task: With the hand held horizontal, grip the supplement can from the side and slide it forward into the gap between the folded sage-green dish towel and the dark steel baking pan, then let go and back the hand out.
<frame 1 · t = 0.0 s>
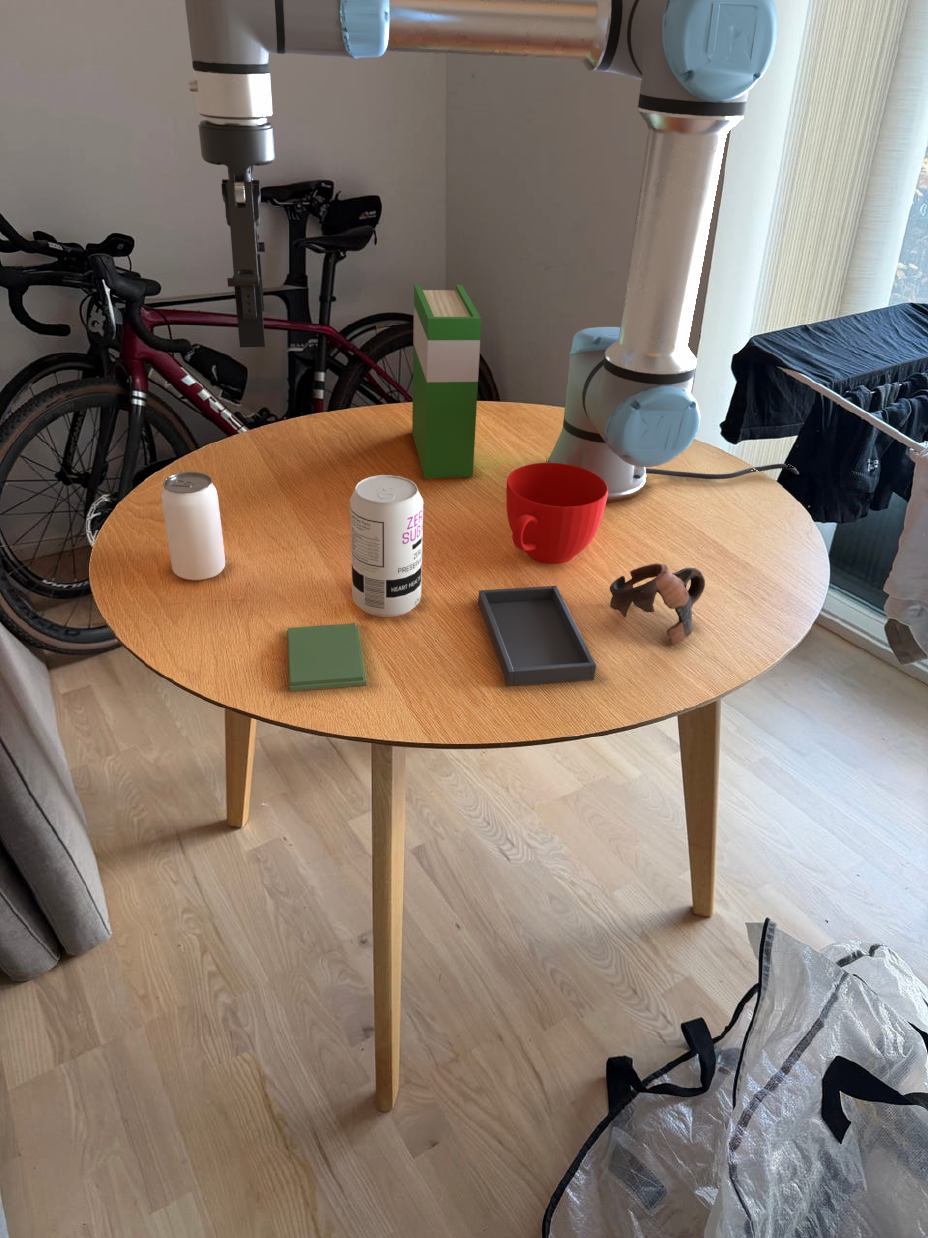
hand: (252, 327, 106), 28 cm above the table, tool pointing down, fingers open, 13 cm apart
ceramic cup: (542, 559, 121), on the table
pan: (532, 639, 105), on the table
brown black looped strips: (657, 622, 110), on the table
supplement can: (386, 602, 111), on the table
can: (199, 570, 115), on the table
hardback book: (441, 454, 147), on the table
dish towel: (325, 659, 101), on the table
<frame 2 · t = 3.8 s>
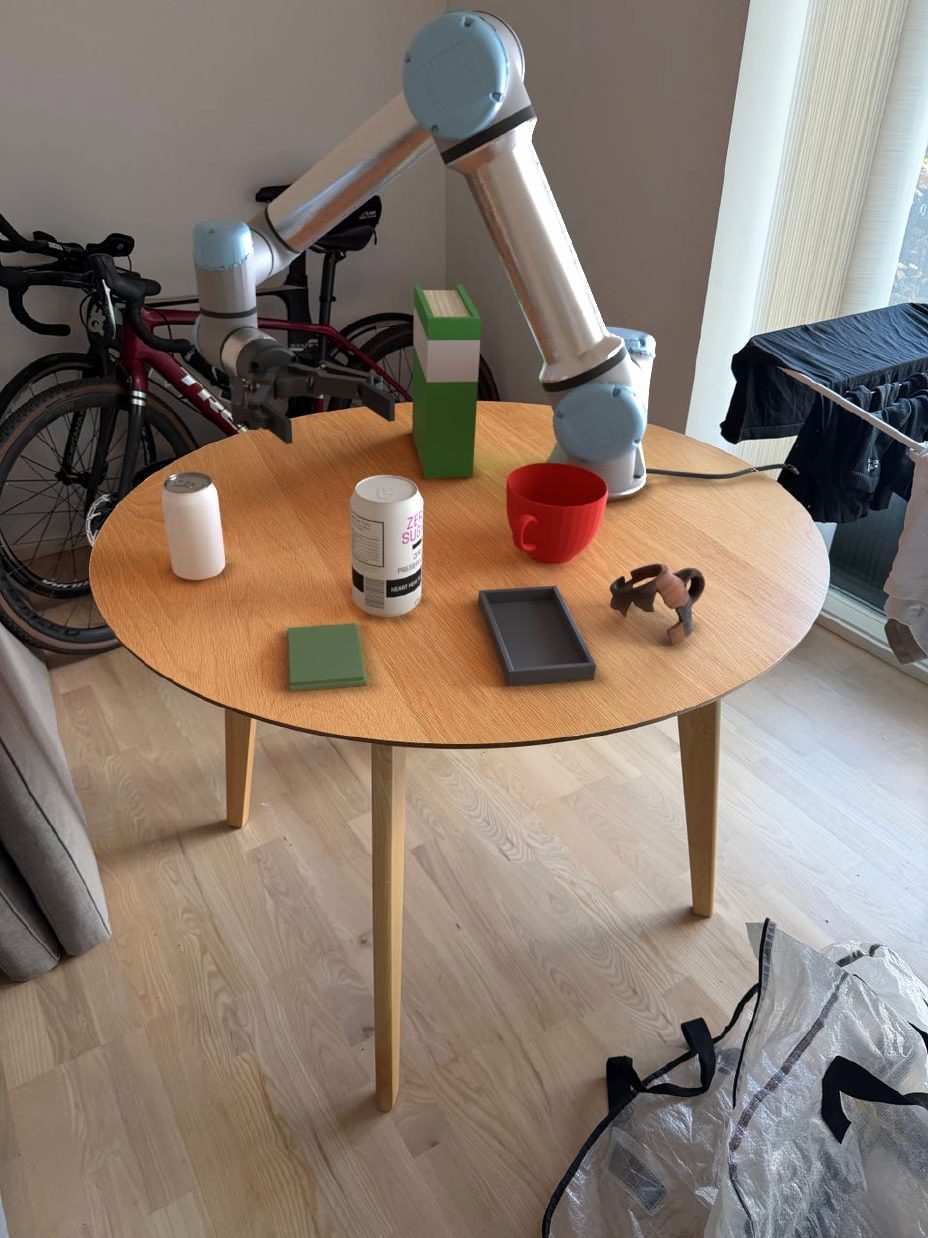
hand: (342, 421, 106), 19 cm above the table, tool horizontal, fingers open, 13 cm apart
nothing on the table moved.
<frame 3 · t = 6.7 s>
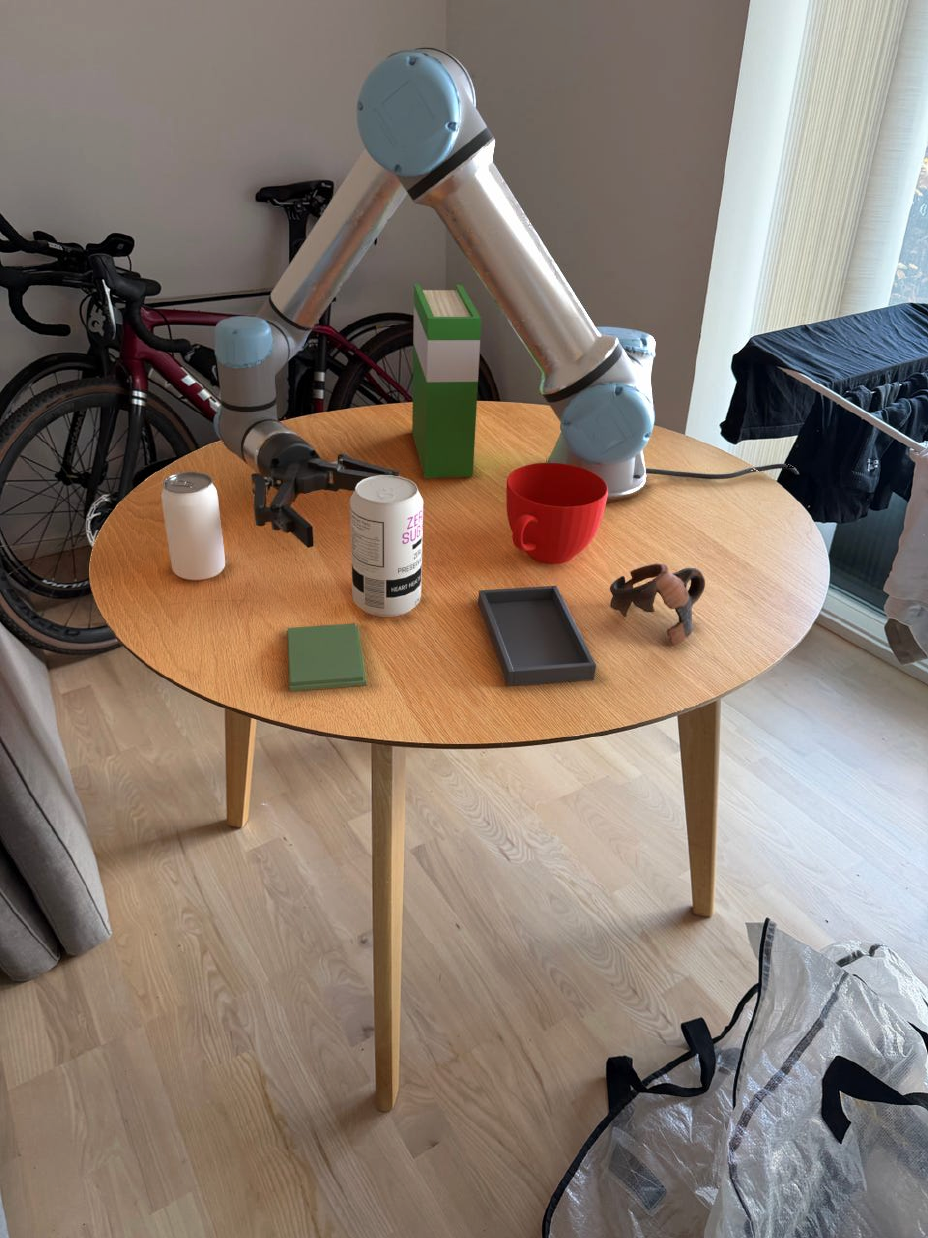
hand: (361, 523, 110), 8 cm above the table, tool horizontal, fingers open, 13 cm apart
nothing on the table moved.
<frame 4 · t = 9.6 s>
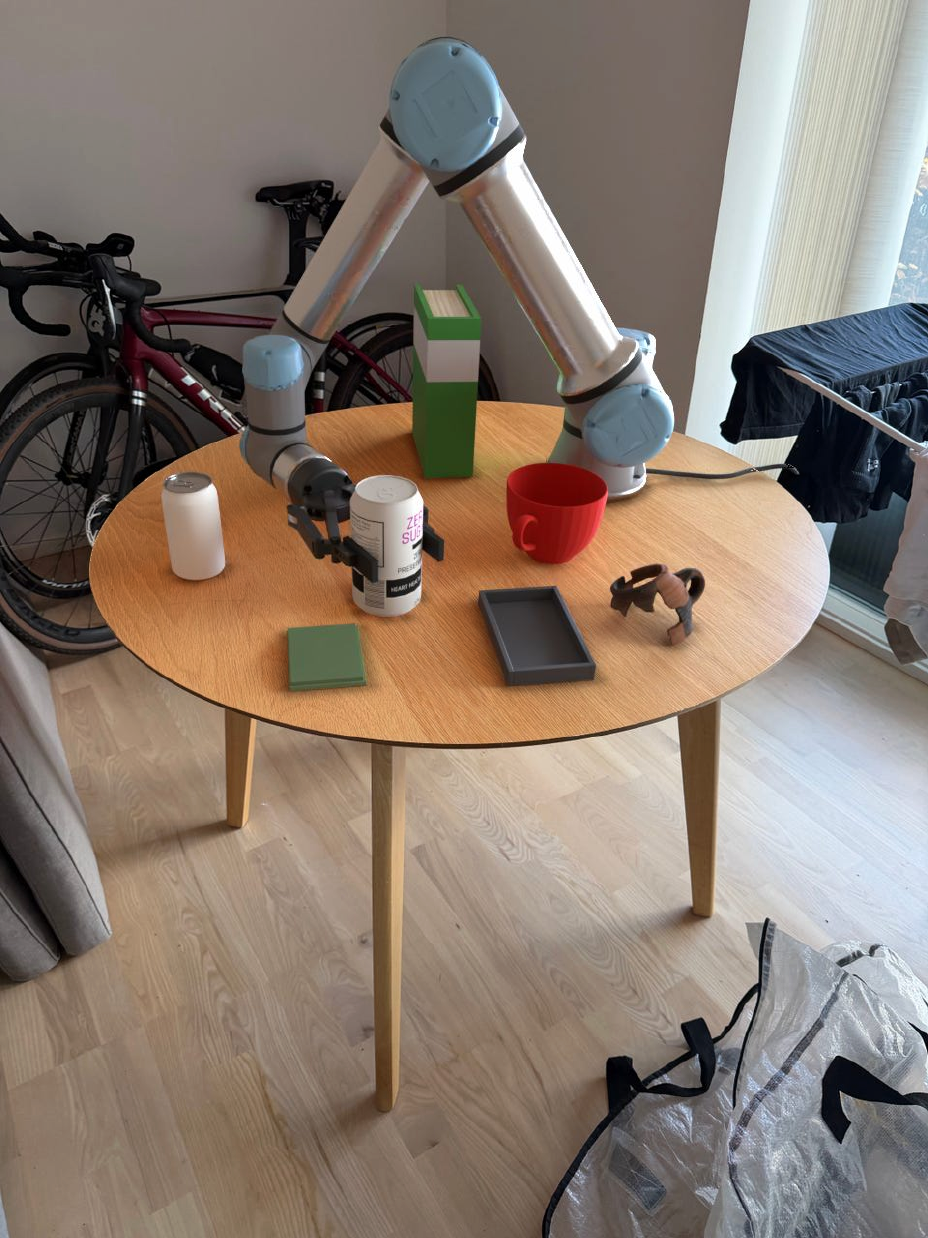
hand: (408, 561, 103), 8 cm above the table, tool horizontal, fingers closed on supplement can, 8 cm apart
supplement can: (386, 602, 111), on the table, touching gripper
everything else where it was.
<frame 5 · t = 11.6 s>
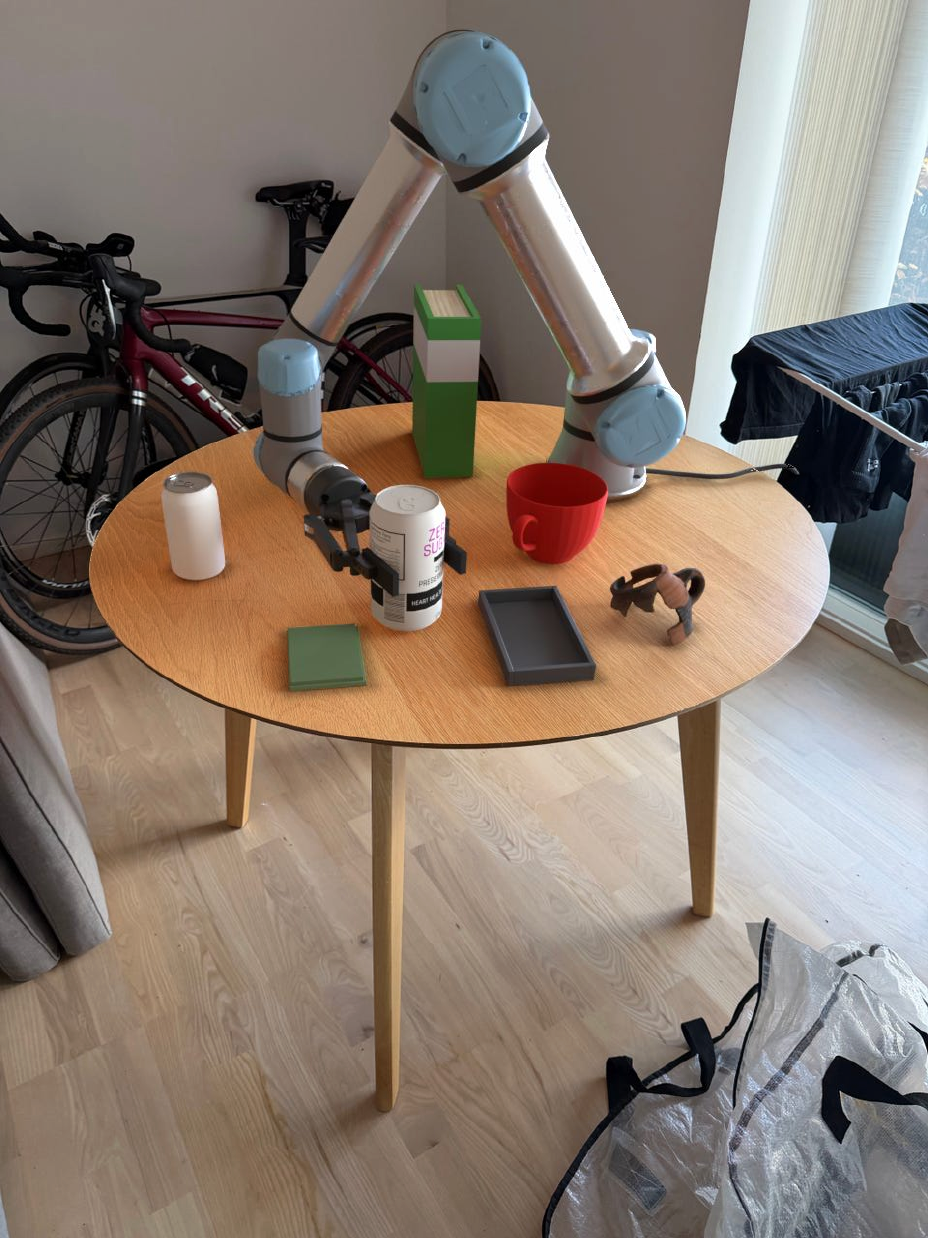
hand: (430, 574, 100), 9 cm above the table, tool horizontal, fingers closed on supplement can, 8 cm apart
supplement can: (406, 615, 107), point 1 cm above the table, touching gripper
everything else where it was.
when the fingers open (8 cm above the table, at t = 13.9 s): supplement can stays where it is, on the table.
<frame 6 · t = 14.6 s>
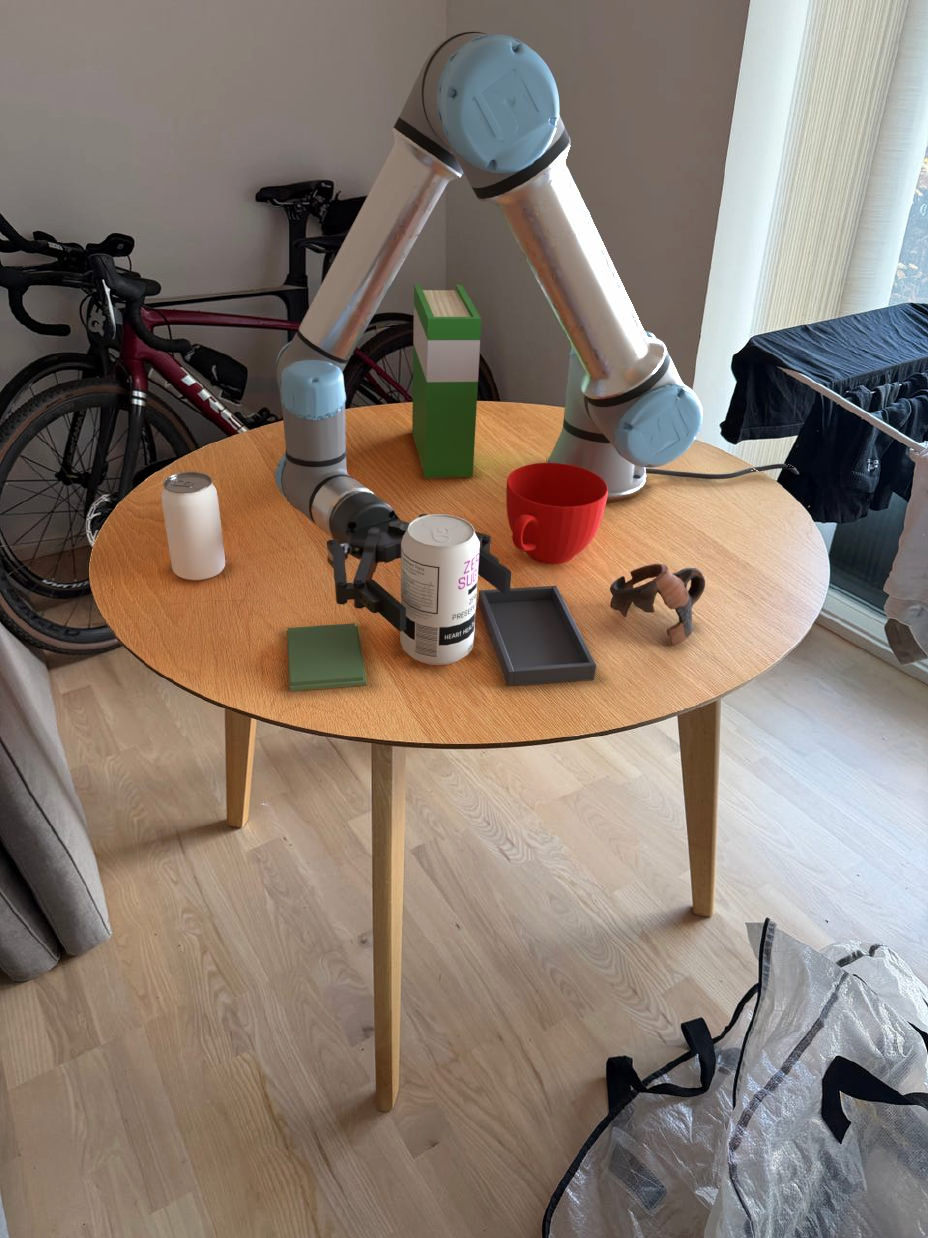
hand: (457, 601, 97), 8 cm above the table, tool horizontal, fingers open, 13 cm apart
supplement can: (436, 648, 103), on the table
everything else where it was.
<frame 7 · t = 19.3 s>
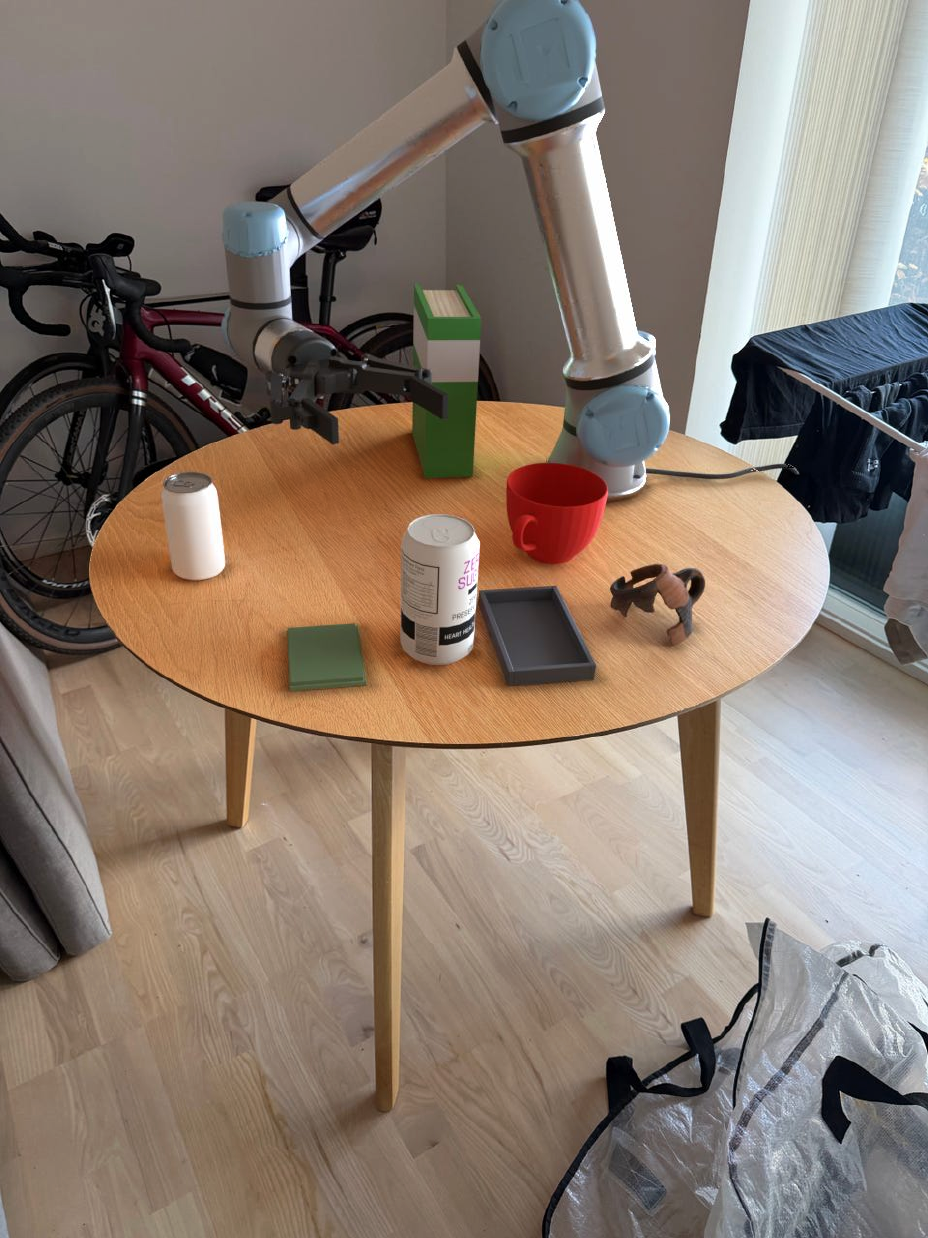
hand: (392, 418, 96), 24 cm above the table, tool horizontal, fingers open, 13 cm apart
nothing on the table moved.
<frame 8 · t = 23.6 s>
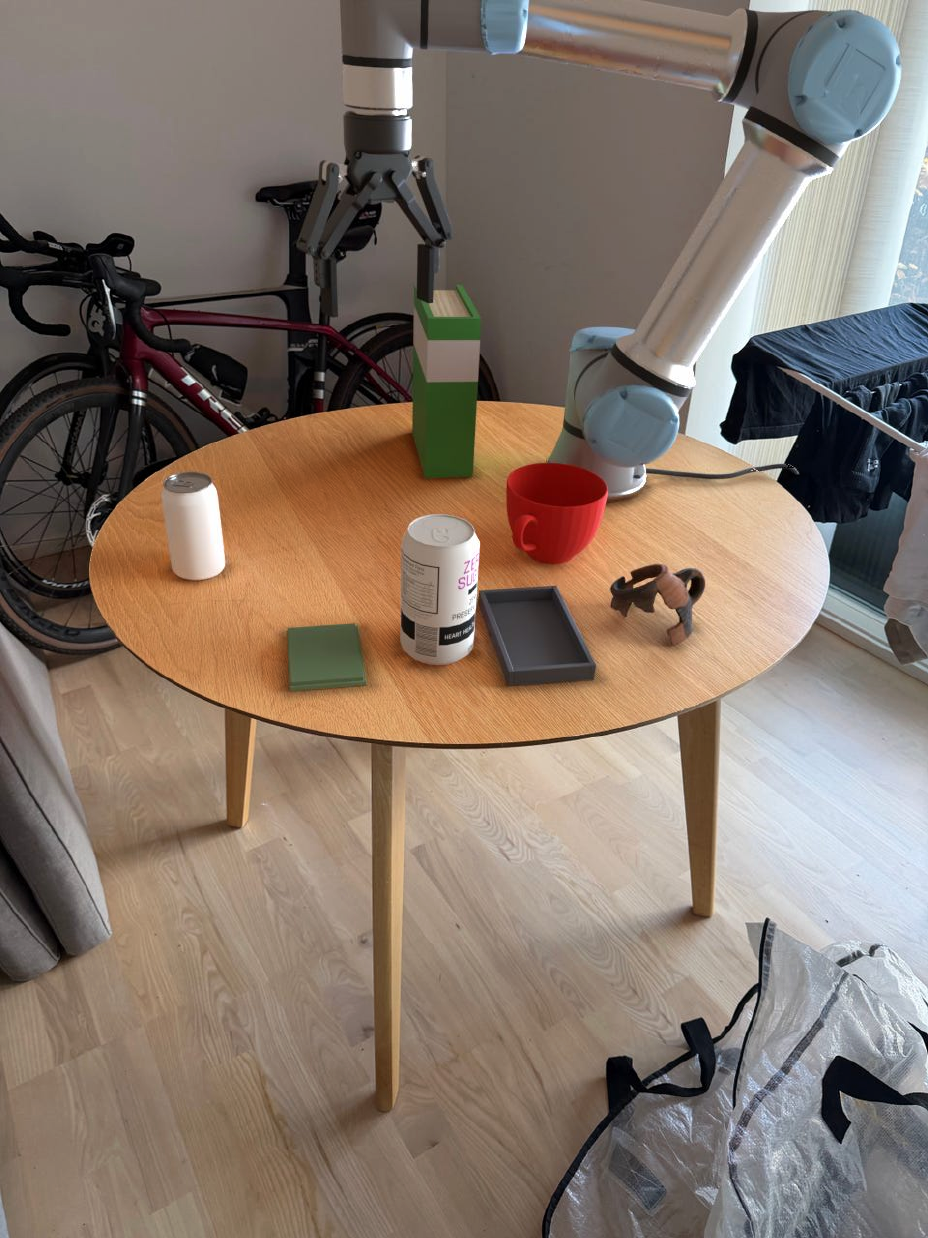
hand: (378, 307, 113), 29 cm above the table, tool pointing down, fingers open, 13 cm apart
nothing on the table moved.
at the end: supplement can inside the target area (0.1 cm from its centre), on the table; supplement can tilted 0°; the gripper is holding nothing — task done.
